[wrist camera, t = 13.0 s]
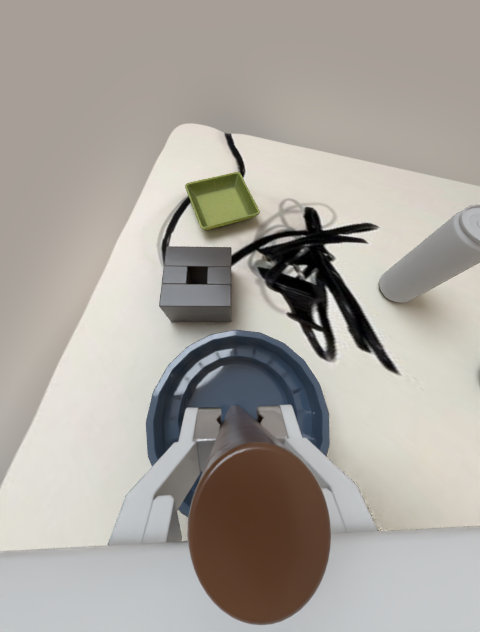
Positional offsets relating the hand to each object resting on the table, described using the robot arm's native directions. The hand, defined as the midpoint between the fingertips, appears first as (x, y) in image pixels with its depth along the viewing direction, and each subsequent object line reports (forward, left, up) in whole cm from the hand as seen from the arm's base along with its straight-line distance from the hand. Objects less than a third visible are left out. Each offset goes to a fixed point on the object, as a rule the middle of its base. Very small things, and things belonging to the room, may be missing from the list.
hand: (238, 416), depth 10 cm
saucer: (+25, +13, -16) cm, 32 cm away
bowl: (0, -1, -16) cm, 16 cm away
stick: (0, 0, -12) cm, 12 cm away
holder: (+11, +9, -16) cm, 21 cm away
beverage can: (+23, -14, -16) cm, 31 cm away
